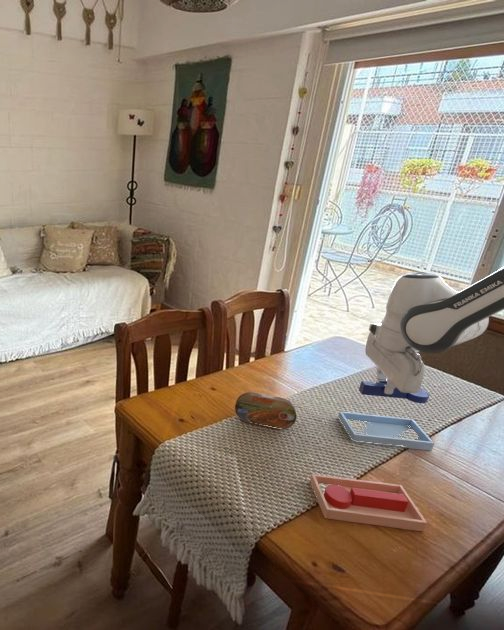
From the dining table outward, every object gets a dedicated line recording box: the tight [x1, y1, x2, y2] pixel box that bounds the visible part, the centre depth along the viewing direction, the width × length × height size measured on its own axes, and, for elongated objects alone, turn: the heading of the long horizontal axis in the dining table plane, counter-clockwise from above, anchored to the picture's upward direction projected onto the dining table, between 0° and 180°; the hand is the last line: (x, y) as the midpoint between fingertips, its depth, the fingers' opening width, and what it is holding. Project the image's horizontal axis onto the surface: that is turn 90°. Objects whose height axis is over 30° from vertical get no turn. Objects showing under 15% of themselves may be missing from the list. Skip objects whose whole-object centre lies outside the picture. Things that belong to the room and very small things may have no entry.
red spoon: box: [324, 485, 408, 512], centre depth 91 cm, size 15×5×3 cm, turn 80°
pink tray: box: [309, 473, 428, 532], centre depth 91 cm, size 18×10×2 cm, turn 80°
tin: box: [234, 391, 298, 430], centre depth 116 cm, size 15×3×8 cm, turn 68°
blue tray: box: [337, 411, 435, 452], centre depth 114 cm, size 18×10×2 cm, turn 80°
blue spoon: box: [358, 380, 430, 404], centre depth 108 cm, size 15×5×3 cm, turn 80°
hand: (383, 389), depth 109 cm, fingers closed on blue spoon, 2 cm apart
